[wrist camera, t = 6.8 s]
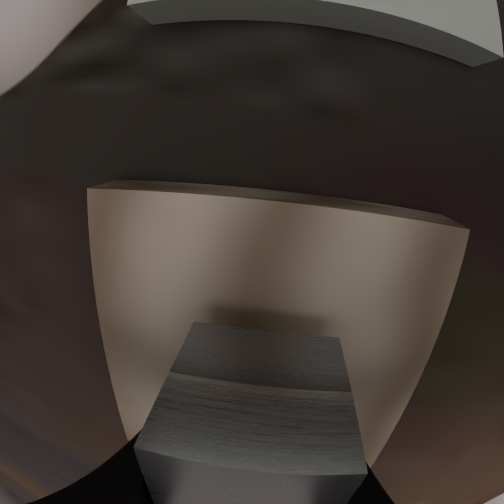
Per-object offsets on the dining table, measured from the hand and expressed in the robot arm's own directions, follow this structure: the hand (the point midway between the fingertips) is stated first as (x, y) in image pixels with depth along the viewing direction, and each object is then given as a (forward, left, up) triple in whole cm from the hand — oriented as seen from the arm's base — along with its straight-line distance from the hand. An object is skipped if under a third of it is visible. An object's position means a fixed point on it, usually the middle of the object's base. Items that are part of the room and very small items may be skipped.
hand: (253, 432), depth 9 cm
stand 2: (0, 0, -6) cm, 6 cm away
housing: (0, 0, -1) cm, 1 cm away
